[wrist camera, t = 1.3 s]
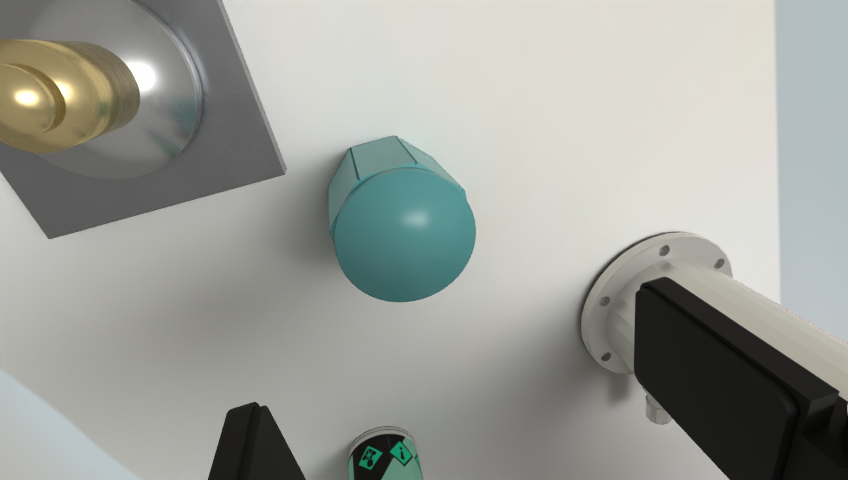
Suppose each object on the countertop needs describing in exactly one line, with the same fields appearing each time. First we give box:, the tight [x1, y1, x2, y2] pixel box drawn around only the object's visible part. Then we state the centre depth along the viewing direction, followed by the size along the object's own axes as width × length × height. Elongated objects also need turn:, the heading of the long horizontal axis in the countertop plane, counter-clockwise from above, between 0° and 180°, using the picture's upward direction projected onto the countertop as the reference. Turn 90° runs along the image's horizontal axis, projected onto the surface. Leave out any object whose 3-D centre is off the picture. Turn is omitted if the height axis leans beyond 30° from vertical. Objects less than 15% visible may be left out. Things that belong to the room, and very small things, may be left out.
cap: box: [328, 136, 476, 302], centre depth 22 cm, size 6×6×7 cm
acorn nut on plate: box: [0, 0, 287, 239], centre depth 16 cm, size 12×12×8 cm
